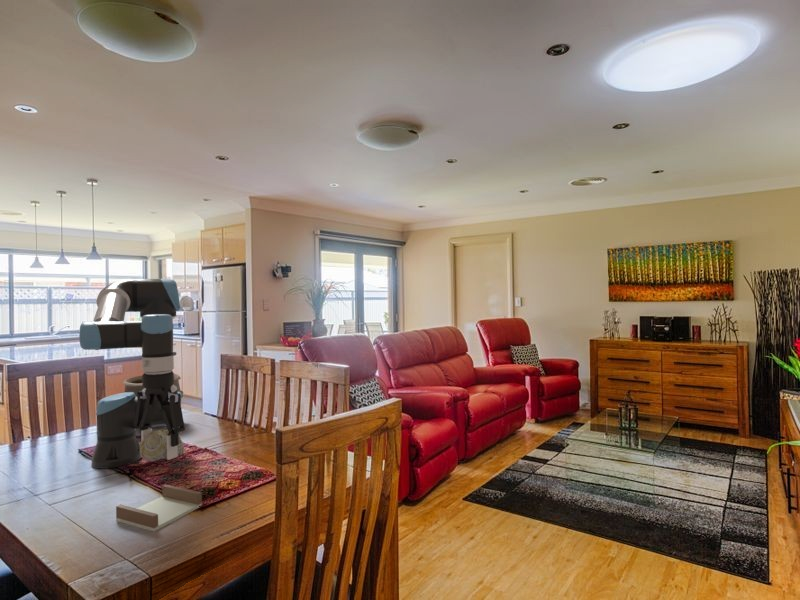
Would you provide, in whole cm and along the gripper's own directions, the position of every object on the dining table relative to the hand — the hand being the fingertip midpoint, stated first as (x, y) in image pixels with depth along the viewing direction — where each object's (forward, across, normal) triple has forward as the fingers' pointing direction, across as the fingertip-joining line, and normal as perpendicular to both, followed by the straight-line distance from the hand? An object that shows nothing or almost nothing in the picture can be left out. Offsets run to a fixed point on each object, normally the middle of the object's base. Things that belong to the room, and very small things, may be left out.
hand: (159, 455), depth 125 cm
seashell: (+1, 0, 0) cm, 1 cm away
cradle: (+16, 0, 0) cm, 16 cm away
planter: (+16, -76, +58) cm, 97 cm away
